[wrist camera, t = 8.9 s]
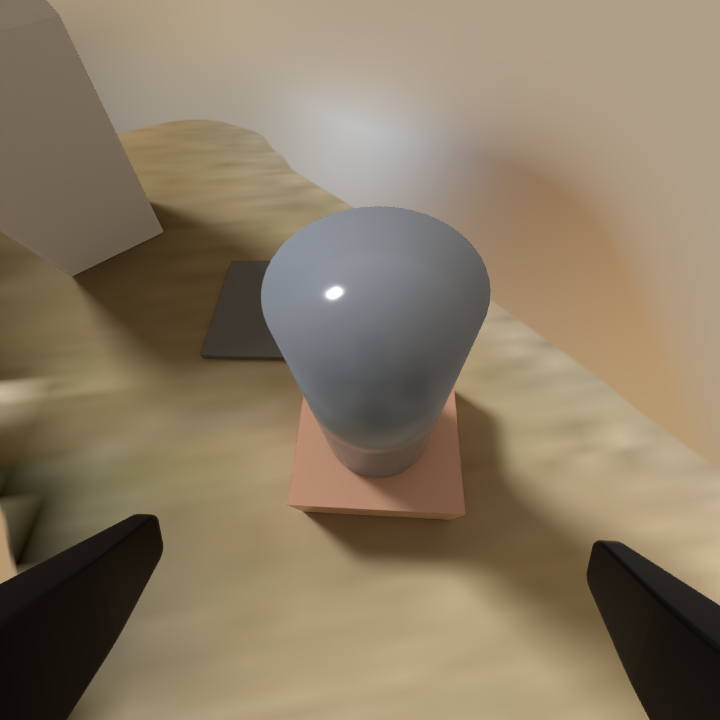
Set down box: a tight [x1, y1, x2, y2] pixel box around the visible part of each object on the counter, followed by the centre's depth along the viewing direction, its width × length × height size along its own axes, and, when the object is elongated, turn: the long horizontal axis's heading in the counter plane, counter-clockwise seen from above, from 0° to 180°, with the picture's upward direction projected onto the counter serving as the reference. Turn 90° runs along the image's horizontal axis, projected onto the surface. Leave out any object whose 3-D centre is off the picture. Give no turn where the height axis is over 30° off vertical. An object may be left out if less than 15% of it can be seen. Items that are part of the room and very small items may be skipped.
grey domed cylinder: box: [261, 207, 490, 478], centre depth 12 cm, size 5×5×10 cm
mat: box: [201, 261, 285, 360], centre depth 25 cm, size 9×9×1 cm
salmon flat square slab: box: [287, 387, 466, 520], centre depth 18 cm, size 8×8×4 cm
